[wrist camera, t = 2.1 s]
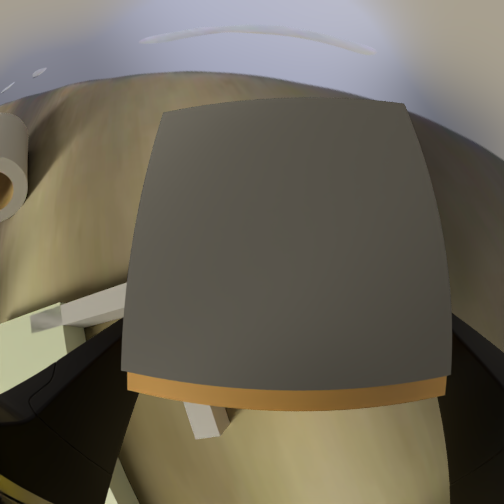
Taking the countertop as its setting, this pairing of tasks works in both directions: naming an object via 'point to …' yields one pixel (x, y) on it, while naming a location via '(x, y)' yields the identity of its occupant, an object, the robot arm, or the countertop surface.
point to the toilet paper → (12, 164)
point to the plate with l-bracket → (67, 339)
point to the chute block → (288, 260)
